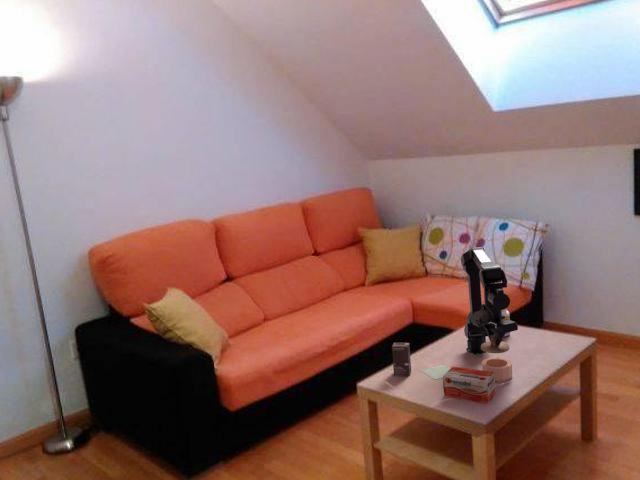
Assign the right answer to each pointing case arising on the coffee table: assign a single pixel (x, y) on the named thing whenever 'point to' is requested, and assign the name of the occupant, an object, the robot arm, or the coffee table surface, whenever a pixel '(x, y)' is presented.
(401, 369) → the box
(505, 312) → the supplement bottle
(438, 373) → the mat
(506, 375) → the bowl
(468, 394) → the medicine box
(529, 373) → the coffee table surface
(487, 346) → the lid
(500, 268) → the robot arm
